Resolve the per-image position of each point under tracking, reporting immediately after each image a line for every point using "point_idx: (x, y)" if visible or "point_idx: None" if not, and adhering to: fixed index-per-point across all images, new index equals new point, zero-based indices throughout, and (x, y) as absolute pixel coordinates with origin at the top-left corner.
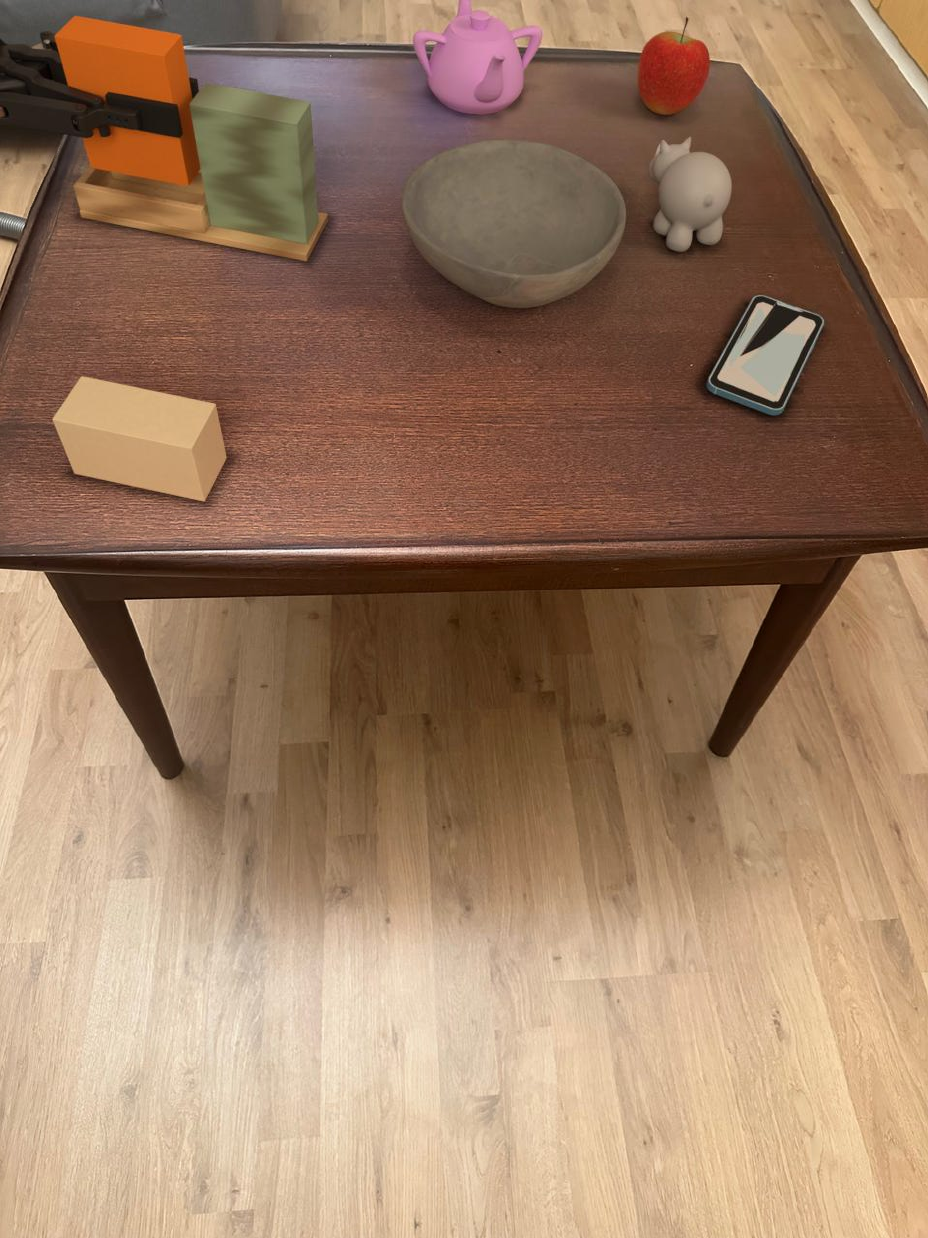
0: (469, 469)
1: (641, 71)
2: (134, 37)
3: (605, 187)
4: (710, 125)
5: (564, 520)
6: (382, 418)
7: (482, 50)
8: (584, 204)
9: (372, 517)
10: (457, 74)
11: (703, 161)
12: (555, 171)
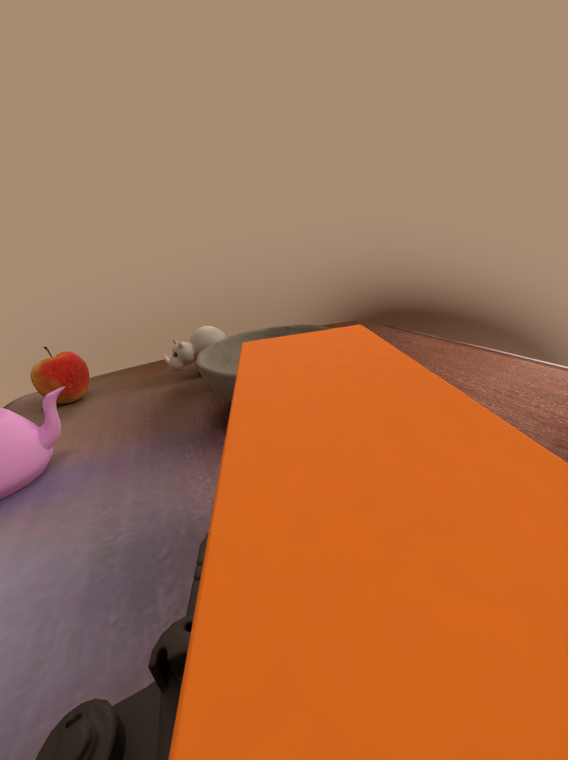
0: (455, 363)
1: (62, 380)
2: (318, 370)
3: (237, 339)
4: (96, 386)
5: (445, 345)
6: (466, 389)
7: (12, 417)
8: (237, 357)
9: (535, 370)
10: (20, 446)
11: (208, 326)
12: (214, 360)
